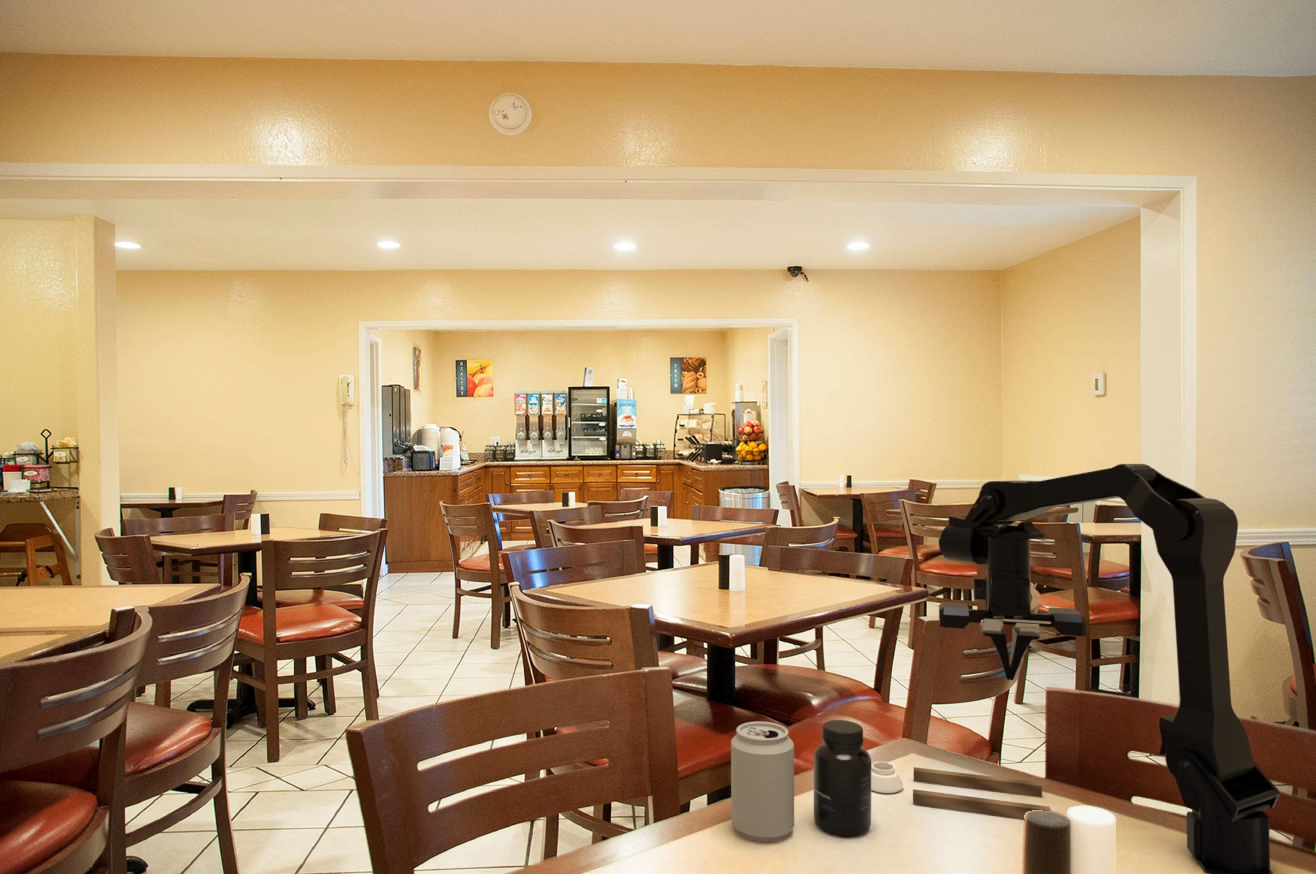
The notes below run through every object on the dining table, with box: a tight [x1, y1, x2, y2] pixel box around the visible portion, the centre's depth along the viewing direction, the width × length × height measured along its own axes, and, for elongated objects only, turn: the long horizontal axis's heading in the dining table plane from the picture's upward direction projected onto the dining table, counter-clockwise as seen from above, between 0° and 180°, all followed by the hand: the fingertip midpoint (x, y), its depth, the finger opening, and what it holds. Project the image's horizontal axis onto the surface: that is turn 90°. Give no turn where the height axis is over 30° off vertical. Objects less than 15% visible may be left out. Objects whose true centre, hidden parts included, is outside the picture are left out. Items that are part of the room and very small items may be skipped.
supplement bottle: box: [813, 719, 872, 839], centre depth 95 cm, size 7×7×12 cm
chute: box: [912, 766, 1052, 821], centre depth 102 cm, size 16×9×2 cm, turn 71°
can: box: [730, 721, 795, 842], centre depth 94 cm, size 8×8×12 cm
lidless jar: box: [871, 761, 904, 795], centre depth 106 cm, size 5×3×5 cm
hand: (1009, 679), depth 111 cm, fingers closed
